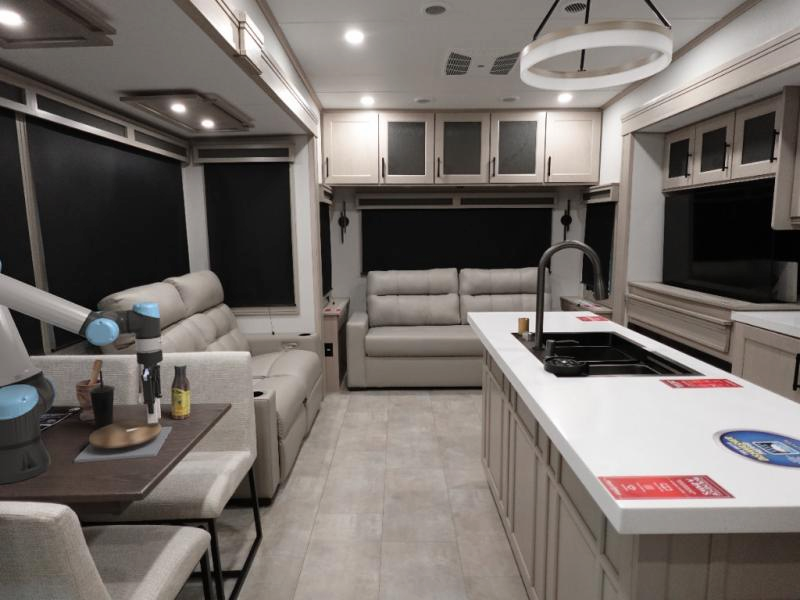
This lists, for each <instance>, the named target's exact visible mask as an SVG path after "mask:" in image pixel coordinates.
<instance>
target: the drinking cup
mask: <svg viewBox="0 0 800 600" xmlns="http://www.w3.org/2000/svg"><path fill="white" fill-rule="evenodd" d="M99 380H100V385H99V386H96V387H94V388H92V389H90V390H89V393H90V396H91V401H92V407H93V413H94V418H95V419H94V422H95V428H96V429H95V430H98V429H99V428H102V427H104V426H107V425H110V424H114V422H113V419H114V416H113V415H114V396H115V388H116V387H115V386H113V385H109V384H104V385H103V381H104V380H103V371H102V370H101V371H100V373H99Z"/></svg>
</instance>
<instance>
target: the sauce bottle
mask: <svg viewBox="0 0 800 600" xmlns="http://www.w3.org/2000/svg"><path fill="white" fill-rule="evenodd" d="M173 369H174V378H173V379H172V383H171V386H170V387H171V388H170V389H171V390H170V392H171V394H170V395H171V396H170V397H171V401H170V402H171V417H172V419H174V420H184V418H185V419H187V418H189V417H190V416H191V389H190V380H189V378H187V364H186V363H184V362H183V363H176V364H174V367H173Z"/></svg>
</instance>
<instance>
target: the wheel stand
mask: <svg viewBox="0 0 800 600" xmlns="http://www.w3.org/2000/svg"><path fill="white" fill-rule="evenodd" d="M172 429H173V426H161V433H160V434H159V435H158V436H156V437H155V438H153V439H151V440H149V441H146V442H144V443H140V444H137V445H133V446H128V447H121V448H100V447H95V446H93V445H91V444H90V443H89V444H88V445H87V446H85V448H84V449H83V450H82V451H81V452H80V453H79V454H78V455H77V456H76V458H74V460H73V463H74V464H75V463H86V462H97V461H98V462H101V461H109V460H110V461H111V460H112V461H113V460H123V459H124V460H125V459H135V458H136V459H137V458H148V457H150V458H151V457H157V454H158V453H159V451H160V449H161V448H162V446H163V444H164V443H165V442H166V440H165V439H167V438H168V436H169V435H168V434H170V433H171V431H172Z"/></svg>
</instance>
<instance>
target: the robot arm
mask: <svg viewBox="0 0 800 600" xmlns="http://www.w3.org/2000/svg"><path fill="white" fill-rule="evenodd" d="M1 270H2V261H1V260H0V485H2V484H10V483H11V484H13V483H17V482H22V481H25V480H27V479H31V478H33V477H36V476H39V475H41V474H43V473H44V472H46V471H47V470H49V468H50V467H51V466H52V462H51V461H52V460H51V456H50V454H49V452H48V450H47V448H46V445H45V444H44V442H43V440H42V431H41V430H42V429H41V421H40V419H41V418H42V417H43V416H44V414H45V413H47V412H48V411H49V410H50V409H51V408H52V406H53V404H54V403H55V399H56V397H57V396H56V395H57V391H56V387H55V385H54V383H53V382H52V381H51V380H50V379H49V378H46V377H45V375H44V373H43V370H42V369H41V368H40V367H36V366H34V364H33V363H32V360H31V358H30V355H29V353H28V350H27V348H26V346H25V343H24V342H23V339H22V337H21V335H20V333H19V330H18V328H17V326H16V323H15V321H14V319H13V317H12V314H11V312H10V310H9V309H11V310H13V311H16V312H19V313H22V314H23V315H27V316H29V317H32V318H34V319H38V320H40V321H41V322H42V321H43V322H44V323H47V324H51V326H52V325H53V326H55V327H58V328H61V329H64V330H66V331H68V332H71V333H74V334H77V335H78V336H81V337H84V338H85V339H87V340H88V342H90V343H91V344H92V345H95V346H99V347H102V346H107V345H109V344H111V343H113V342H114V341H115V340H117V338H118V337H119V336H120V335H126V334H128V335H131V334H134V338H135V343H134V344H135V350H136V353H135V354H136V364H138V365H143V369H142V374H141V375H140V380H141V385H142V386H141V387H142V396H143V403H142V404H143V405H146V415H147V416H146V417H147V420H148V423H157V422H158V423H159V419H161V417H162V416H161V415H162V414H161V412H162V411H161V402H160V401H161V400H160V399H162V398H163V395H162V386H161V383H162V382H161V365H158V364H159V363H161V362H162V361H163V360H164V357H163V356H164V354H163V350H162V348H163V346H162V345H163V344H162V343H164V339H162V330H161V328H162V327H161V315H160V308H159V307H160V306H159V304H158V303H157V302H152V301H146V302H136V303H135V302H134V303H133V305H132V309H126V310H108V311H107V310H101V311H94V310H91V309H89V308H86V307H84V306H82V305H79V304H76V303H74V302H72V301H70V300H67V299H64V298H63V297H59V296H57V295H55V294H52V293H50V292H47V291H44V290H42V289H41V288H37V287H35V286H33V285H30V284H27V283H25V282H23V281H20V280H18V279H16V278H13V277H10V276H8V275H5V274H3V273H1ZM155 397H156V398H157V404H158V420H157V407H156V403H155Z"/></svg>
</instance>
